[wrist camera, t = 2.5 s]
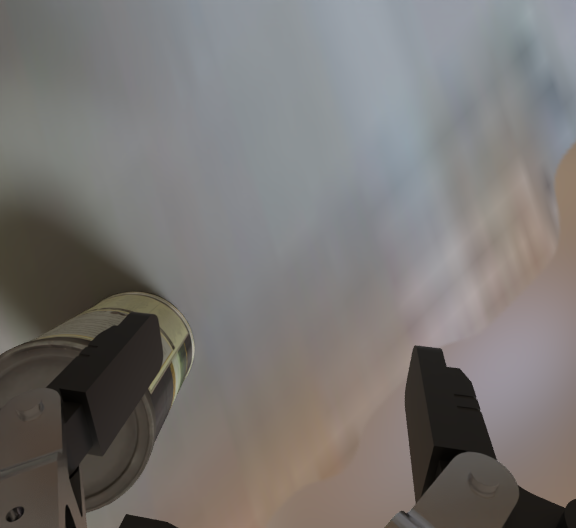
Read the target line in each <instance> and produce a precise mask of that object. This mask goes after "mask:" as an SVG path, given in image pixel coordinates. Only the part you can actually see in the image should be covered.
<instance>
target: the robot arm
mask: <svg viewBox="0 0 576 528" xmlns="http://www.w3.org/2000/svg"><path fill="white" fill-rule="evenodd" d="M162 362H163V347H162V340H161V333H160V327H159V320H158V317H157V316H156V315H155V314H148V313H139V312H131V313H129V314H128V315H127V316H126V317H125V319H124V320H123V321H122V322H121V323H120V324H119V325H118V326H116V325H113V326H111V327H110V328H108V329H106V330H105V331H103V332H101V333H99V334H98V335H97V336H96V337H95V338H94V339H93V340H92V341H91V342H90V343H89V344H88V347H85V348H84V349H83V350H82V351H81V352H80V353H79V356H76V357H75V358H74V359H73V360H72V361H71V362H70V363H69V365H68V366H67V367H66V368H65V369H64V370H63V371H62V372H61V373H60V374H59V375H58V376H57V377H56V378H55V379H54V380H53V381H52V382H51V383H50V384H49V385H48V386H47V387H46V388H37V389H32V390H29V391H26V392H23V393H21V394H19V395H17V396H15V397H14V398H12V399H11V400H9V401H8V402H7V403H6V404H5V405H4V406H3V407H2V408H1V409H0V528H87V522H86V510H85V498H84V486H83V475H82V467H81V464H80V463H81V461H82V460H83V459H84V457H85V456H86V454H89V455H95V456H101V457H103V455H104V454H105V452H106V451H107V449H108V448H109V446H110V445H111V443H112V442H113V440H114V439H115V437H116V436H117V434H118V433H119V431H120V430H121V428H122V427H123V425H124V424H125V422H126V421H127V419H128V418H129V416H130V415H131V413H132V412H133V410H134V409H135V407H136V406H137V404H138V403H139V401H140V400H141V398H142V397H143V395H144V394H145V392H146V391H147V389H148V388H149V386H150V385H151V383H152V382H153V380H154V379H155V377H156V376H157V374H158V373H159V371H160V369H161V366H162ZM405 411H406V420H407V429H408V437H409V446H410V455H411V464H412V473H413V482H414V492H415V501H416V504H415V506H414V507H413V508H412V509H411V510H410V511H409V512H408V513H405V512H404V511H400V512H399V513H397V514H396V515H395V516H394V517H393V518H392V519H391V520H390V522H389V523H388V524H387V525H386V527H385V528H576V499H574V500H572V501H570V502H569V503H568V504H567V506H566V508H564V507H562V506H559V505H557V504H555V503H552V502H550V501H547V500H545V499H543V498H540V497H538V496H536V495H534V494H532V493H530V492H528V491H526V490H524V489H523V488H521V487H520V486H518V485H517V482H516V480H515V478H514V477H513V475H512V474H511V473H510V471H509V470H508V469H507V468H506V467H505V466H503V465H502V464H501V463H500V462H498V461H497V459H496V456H495V453H494V450H493V447H492V444H491V441H490V437H489V435H488V432H487V428H486V425H485V423H484V419H483V416H482V413H481V412H480V407H479V404H478V401H477V400H476V395H475V391H474V389H473V385H472V383H471V381H470V380H469V379H468V378H467V377H466V375H465V374H464V373H463V372H462V371H461V370H460V369H459V368H451V367H446V363H445V359H444V356H443V352H442V349H441V348H432V347H424V346H414V348H413V352H412V357H411V362H410V367H409V372H408V377H407V383H406V390H405ZM119 528H177V527H176V526H174V525H172V524H170V523H168V522H164V521H159V520H154V519H149V518H144V517H138V516H133V515H128V514H126V515H125V517H124V519H123V521H122V523H121V525H120V527H119Z"/></svg>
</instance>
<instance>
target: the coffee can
mask: <svg viewBox="0 0 576 528" xmlns="http://www.w3.org/2000/svg"><path fill="white" fill-rule="evenodd" d="M131 312H139V313H148V314H155V315H156V316H157V317H158V320H159V327H160V333H161V340H162V347H163V362H162V366H161V369H160V371H159V373H158V374H157V376H156V377H155V379H154V380H153V382H152V383H151V385H150V386H149V388H148V389H147V391H146V392H145V394H144V395H143V397H142V398H141V400H140V401H139V403H138V404H137V406H136V407H135V409H134V410H133V412H132V413H131V415H130V416H129V418H128V419H127V421H126V422H125V424H124V425H123V427H122V428H121V430H120V431H119V433H118V434H117V436H116V437H115V439H114V440H113V442H112V443H111V445H110V446H109V448H108V449H107V451H106V452H105V454H104V455H103V457H101V456H95V455H89V454H86V456H85V457H84V459H83V460H82V461H81V463H80V464H81V467H82V475H83V486H84V498H85V510H86V513H87V512H90V511H93V510H96V509H99V508H101V507H103V506H105V505H108V504H110V503H112V502H113V501H115V500H116V499H118V498H119V497H120V496H122V495H123V494H124V493H125V492H126V491H128V490H129V489H130V488H131V487H132V485H133V484H134V483H135V482H136V481H137V479H138V478H139V477H140V475H141V473H142V472H143V470H144V469H145V466H146V464H147V462H148V460H149V457H150V455H151V452H152V449H153V446H154V442H155V440H156V438H157V436H158V434H159V432H160V430H161V428H162V425H163V423H164V421H165V419H166V417H167V415H168V413H169V410H170V408H171V406H172V404H173V402H174V400H175V398H176V396H177V394H178V392H179V390H180V387H181V385H182V383H183V381H184V379H185V378H186V377H187V375H188V373H189V371H190V369H191V366H192V363H193V359H194V340H193V335H192V332H191V329H190V326H189V324H188V322H187V321H186V319H185V318H184V316H183V315H182V314H181V313H180V311H179V310H178V309H177V308H175V307H174V306H173V305H172V304H170V303H169V302H167V301H166V300H164V299H162V298H161V297H158V296H156V295H152V294H149V293H144V292H125V293H120V294H116V295H112V296H110V297H108V298H106V299H104V300H102V301H101V302H99V303H98V304H97V305H95V306H94V307H92V308H90V309H88V310H87V311H85V312H83V313H81V314H79V315H78V316H76V317H74V318H72V319H70V320H68V321H66V322H65V323H63V324H61V325H59V326H57V327H56V328H54V329H52V330H50V331H48V332H46V333H45V334H43V335H41V336H39V337H38V338H36V339H34V340H32V341H30V342H26V343H23V344H21V345H19V346H16V347H14V348H12V349H10V350H8V351H6V352H4V353H3V354H1V355H0V409H1V408H2V407H3V406H4V405H5V404H6V403H7V402H8V401H9V400H11V399H12V398H14V397H15V396H17V395H19V394H21V393H23V392H26V391H29V390H32V389H37V388H46V387H47V386H48V385H49V384H50V383H51V382H52V381H53V380H54V379H55V378H56V377H57V376H58V375H59V374H60V373H61V372H62V371H63V370H64V369H65V368H66V367H67V366H68V365H69V363H70V362H71V361H72V360H73V359H74V358H75V357H76V356H79V353H80V352H81V351H82V350H83V349H84V348H85V347H88V344H89V343H90V342H91V341H92V340H93V339H94V338H95V337H96V336H97V335H98V334H99V333H101V332H103V331H105V330H106V329H108V328H110V327H111V326H113V325H116V326H118V325H119V324H120V323H121V322H122V321H123V320H124V319H125V317H126V316H127V315H128V314H129V313H131Z"/></svg>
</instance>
